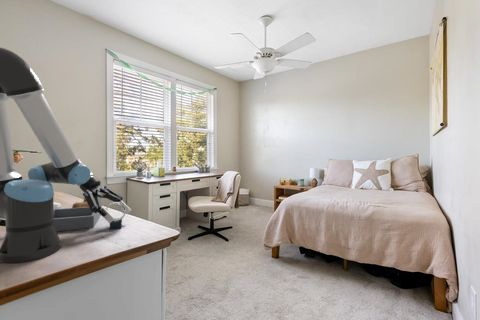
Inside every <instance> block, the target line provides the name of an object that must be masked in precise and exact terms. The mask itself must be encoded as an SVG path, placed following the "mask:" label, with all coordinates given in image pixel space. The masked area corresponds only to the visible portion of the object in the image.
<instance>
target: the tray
mask: <svg viewBox="0 0 480 320" xmlns="http://www.w3.org/2000/svg"><path fill="white" fill-rule="evenodd" d="M93 208H94V207H93ZM53 212H54V228H55V230H56V232H60V231H70V230H81V229H92V228H95V226H96V224H97V223H98V221H99V220H100V218H101V217H102V216H101V214H99V213H98V212H97V213H94V212H92V211H91V209H90V207H79V208H72V207H67V208H65V207H64V208H61V209H53Z"/></svg>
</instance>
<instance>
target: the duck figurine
mask: <svg viewBox="0 0 480 320" xmlns="http://www.w3.org/2000/svg"><path fill="white" fill-rule="evenodd" d="M53 209H62V204H61V203H59V202H55V201H53Z"/></svg>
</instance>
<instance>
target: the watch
mask: <svg viewBox="0 0 480 320" xmlns="http://www.w3.org/2000/svg"><path fill="white" fill-rule="evenodd" d="M113 205H117V207H118V210H119V211H120V212H121V213H122V214H123V215H122V216H121V217H119V218H115V219H114V220H113V221H112V222H111V223H109V231H111V230H114V231H115V230H121V229H122V225H123V218H124V217H125V216H126V213H125V212H126V209H125V207H124V206H123V204H122V203H121V202H120V203H119V202H114V201H112V202H110V203H109V204H108V205H107V206H106V208H105V209H106V210H107V211H108V212H109V210H108V208H109V207H110V206H113Z"/></svg>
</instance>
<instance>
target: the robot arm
mask: <svg viewBox="0 0 480 320" xmlns="http://www.w3.org/2000/svg"><path fill="white" fill-rule="evenodd" d="M44 91H45V87H44V86H43V84H42V82H41V80H40V78H39V77H38V75H37V74H36V72H35V71H34V70H33V68H32V66H30V65H29V64H28V62H27V61H25V60H24V58H23V57H21V56H19V55H18V54H17V53H15V52H14V51H12V50H10V49H8V48H7V49H6V48H4V47H0V219H3V220H4V219H5V235H4V238H3V240H2V243H1V244H0V261H2V262H1V263H3V262H7V263H6V264H16V263H25V262H30V261H34V260H39V259H43V258H45V257H47V256H49V255H52V254H55V253H57V252H58V251H59V250H60V249H61V239H60V237H59V234H58V231H56V230H55V228H54V212H53V202H54V197H55V192H54V187H53V185H52V184H67V185H77V187H79V189H80V190H81V191H82V192H83V193H82V195H83V198H84V197H85V198H86V200H87V202H88V205H89V207H90V209H91V211H92V212H94V213H97V212H98V213H99V214H101V216H100V217H102V218H103V219H105V220H106V222H107V223H108V224H110V223H111V222H112V221H113V220H114V219H116V218H115V217H114V215H112V214H111V213H110V212H109V210H108V209H107V210H108V211H107V210H106V208H105V206H102V205H103V204H102V201H101V199H107V200H110V201H112V202H119V203H120V202H121V203H122V204H123V206H124V207H125V209H126V212H125V215H128V214H129V213H130V212H131V211H132V209H131V208H130V207H129V206H128V205H127V204H126V202H124V201H123V199H124V197H123V196H122V195H120V194H119V193H118V192H116V191H114V190H112V189H111V188H110V187H109V186H107V185H106V184H105V185H104V186H102V185H101V183H102V181H100V179H99V178H98V177H97V176H95V174H94V173H93V172H92V171H91V169H90V167H88V166H87V165H85V164H84V163H83V162H82V161H81V159H79V157H77V155H76V154H75V151H73V149H72V146H71V144H70V143H69V140H68V139H67V136H66V135H65V133H64V132H63V130H62V127H61V125H60V124H59V121H58V120H57V118H56V116H55V114H54V112H53V110H52V108H51V106H50V105H49V102H48V100H47V99H46V97H45V95H44V94H43V93H44ZM10 99H12V100H13V101H14V103H15V104H16V106H17V107H18V109H19V110H20V112H21V114H22V115H23V117H24V119H25V120H26V122H27V123H28V125H29V127H30V128H31V130H32V132H33V134H34V136H35V137H36V139H37V140H38V142H39V144H40V145H41V147H42V149H43V150H44V152H45V154H46V155H47V156H48V158H49V161H50V162H47V163H44V164H39V165H37V166H34V167H31V168H29V170H28V172H27V177H28V179H23V175H22V174H21V173H19V172H17V171H16V165H15V158H14V150H13V143H12V136H11V128H10V121H9V119H10V118H9V113H8V112H9V111H8V106H7V101H8V100H10ZM93 207H94V208H93Z"/></svg>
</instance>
